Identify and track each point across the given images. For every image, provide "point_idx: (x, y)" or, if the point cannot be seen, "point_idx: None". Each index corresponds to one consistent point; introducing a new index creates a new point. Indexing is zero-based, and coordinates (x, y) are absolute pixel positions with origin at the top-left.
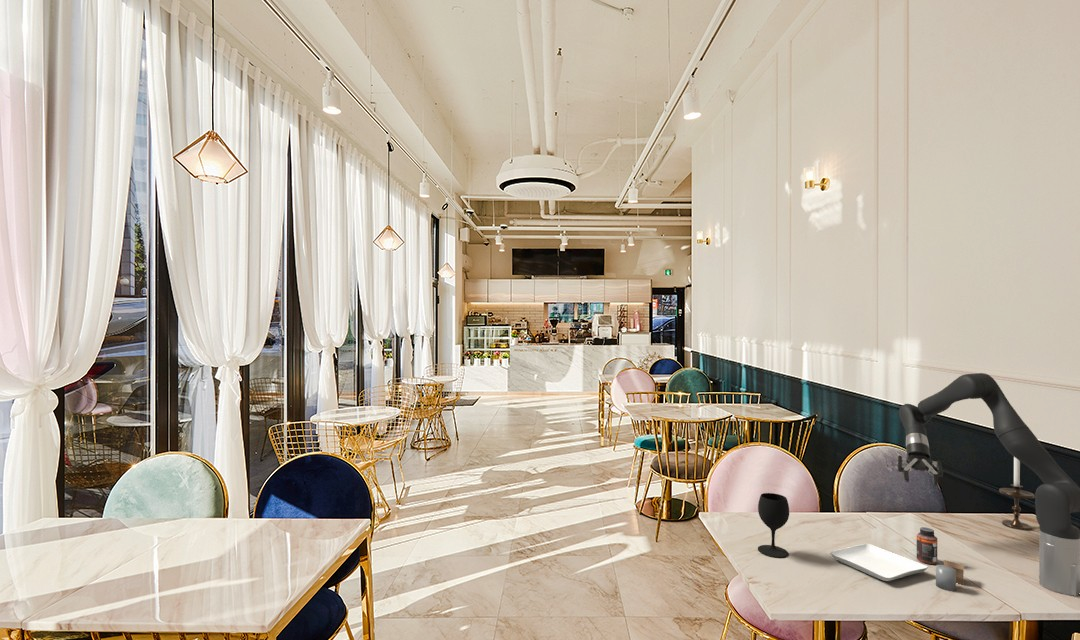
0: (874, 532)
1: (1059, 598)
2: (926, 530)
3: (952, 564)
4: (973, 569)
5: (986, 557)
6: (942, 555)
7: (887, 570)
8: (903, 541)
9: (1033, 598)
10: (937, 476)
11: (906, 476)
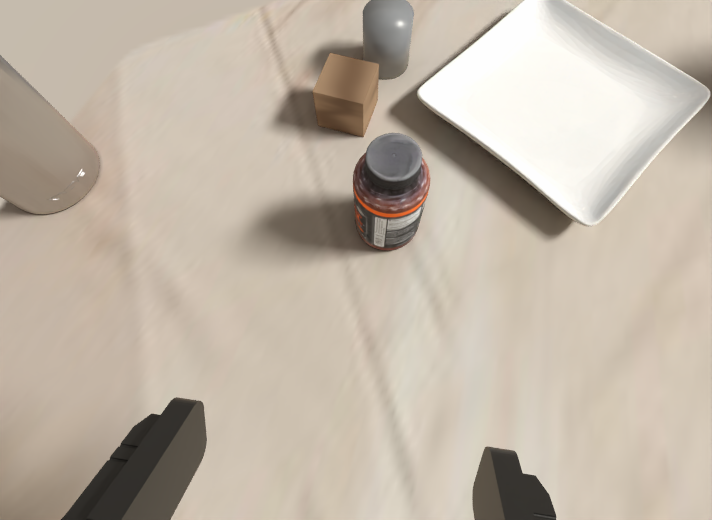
0: None
1: (106, 108)
2: (401, 134)
3: (348, 80)
4: (251, 216)
5: (139, 363)
6: (310, 309)
7: (526, 85)
8: (426, 418)
9: (180, 83)
10: (75, 505)
11: (524, 505)
